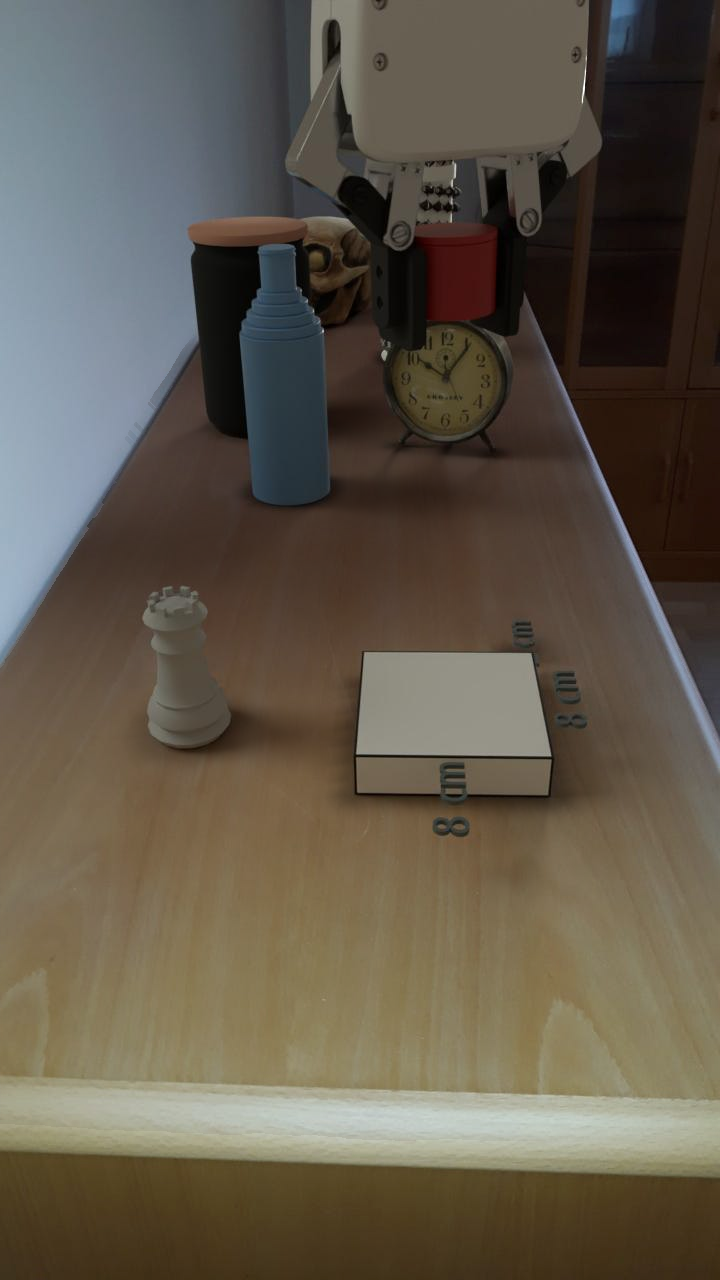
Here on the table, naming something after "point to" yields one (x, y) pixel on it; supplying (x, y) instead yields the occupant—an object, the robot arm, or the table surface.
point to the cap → (459, 269)
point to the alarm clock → (449, 383)
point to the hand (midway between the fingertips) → (448, 332)
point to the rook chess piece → (183, 673)
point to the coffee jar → (234, 302)
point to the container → (456, 725)
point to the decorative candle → (435, 202)
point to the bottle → (285, 386)
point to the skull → (337, 268)
